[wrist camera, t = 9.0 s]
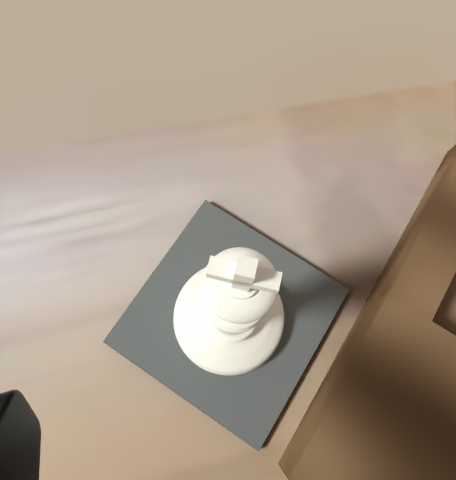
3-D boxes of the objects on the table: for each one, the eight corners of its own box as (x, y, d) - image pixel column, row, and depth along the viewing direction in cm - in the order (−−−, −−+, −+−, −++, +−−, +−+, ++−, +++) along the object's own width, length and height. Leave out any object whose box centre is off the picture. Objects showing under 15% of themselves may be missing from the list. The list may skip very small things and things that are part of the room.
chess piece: (189, 253, 19) (165, 140, 9) (293, 277, 19) (375, 188, 9) (160, 359, 17) (96, 356, 8) (271, 387, 17) (343, 418, 8)
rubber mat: (257, 449, 17) (258, 451, 17) (105, 342, 18) (102, 341, 18) (346, 290, 19) (349, 289, 19) (205, 203, 20) (205, 199, 20)
